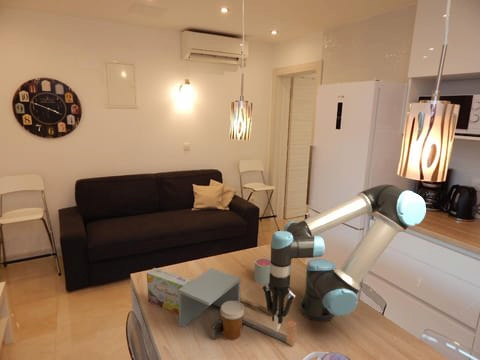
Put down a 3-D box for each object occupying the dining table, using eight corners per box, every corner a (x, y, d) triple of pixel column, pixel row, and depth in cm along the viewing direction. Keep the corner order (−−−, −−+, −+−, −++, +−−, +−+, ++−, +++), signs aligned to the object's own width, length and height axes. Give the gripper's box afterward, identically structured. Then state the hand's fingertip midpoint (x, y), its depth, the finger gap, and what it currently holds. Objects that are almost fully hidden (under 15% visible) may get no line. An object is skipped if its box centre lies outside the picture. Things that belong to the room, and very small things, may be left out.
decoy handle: (274, 313, 134) (274, 296, 132) (271, 316, 132) (272, 299, 130) (234, 297, 145) (235, 282, 143) (231, 300, 143) (231, 284, 141)
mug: (267, 286, 155) (268, 268, 152) (251, 281, 159) (251, 263, 157) (278, 274, 166) (279, 257, 164) (263, 270, 171) (264, 253, 169)
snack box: (147, 303, 140) (145, 272, 136) (155, 296, 145) (154, 267, 141) (185, 317, 130) (184, 285, 127) (193, 310, 135) (192, 279, 132)
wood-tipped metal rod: (295, 341, 117) (296, 323, 115) (275, 370, 104) (276, 350, 102) (235, 315, 132) (235, 298, 130) (211, 338, 118) (211, 319, 117)
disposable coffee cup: (240, 345, 115) (241, 317, 113) (216, 340, 118) (216, 312, 115) (246, 328, 124) (247, 302, 122) (224, 324, 127) (224, 298, 124)
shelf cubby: (239, 313, 133) (240, 278, 130) (209, 342, 116) (209, 302, 113) (211, 301, 142) (211, 268, 138) (179, 327, 124) (178, 289, 121)
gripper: (300, 273, 114) (296, 330, 119) (268, 264, 121) (266, 317, 126) (292, 283, 108) (288, 341, 113) (259, 272, 114) (257, 328, 119)
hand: (276, 329), depth 119 cm, fingers closed
